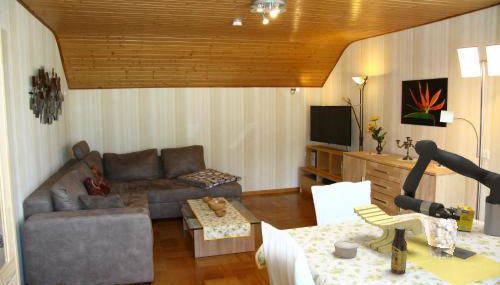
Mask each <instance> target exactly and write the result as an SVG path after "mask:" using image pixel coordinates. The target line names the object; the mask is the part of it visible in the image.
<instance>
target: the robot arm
mask: <svg viewBox="0 0 500 285" xmlns="http://www.w3.org/2000/svg"><path fill="white" fill-rule="evenodd" d="M414 151H415V153H416V155H418V158H417V161H416V163H415V164H414V166H413V167H412V168H411V170H410V171H409V172H408V173H407V176H406V179H405V181H404V183H403V185H402V190H403V191H404V193H403V194H398V195H396V196H395V197H394V200H393V203H394V205H395V206H396V207H397V208H398V209H401V210H405V211H412V212H414V213H418V214H422V215H424V216H428V217H432V218H435V219H442V220H446V221H447V220H454V221H455V220H458V221H459V220H460V216H458V215H456V213H457V208H458V207H457V208H456V207H445V205H444V204H443V203H440V202H435V201H431V200H424V199H420V198H419V199H418V198H416V193H417V189H418V188H419V186H420V185H419V184H420V183H421V181H422V178H423V176H424V175H425V172H426V170H427V169H428V167H429V165H430V163H431V161H433V162H435V163H438V164H440V165H441V166H443V167H445V168H446V169H448V170H450V171H452V172H454V173H456V174H459V175H460V176H463V177H465V178H466V177H467V178H469V179H472V180H474V181H477V183H480V184H482V185H483V186H485V187H486V188H487V189H489V195H486V196H485V200H484V218H483V219H484V220H483V221H484V222H483V223H484V224H483V233H484V234H485V235H488V236H493V237H500V173H497V172H493V171H490V170H489V169H485V168H484V167H483V168H482V167H480V166H479V165H477V163H475V162H473V161H472V160H471V159H469V158H466V157H464V156H462V155H461V154H457V153H453V152H450V151H448V150H443V149H441V148H439V147H438V145H437V143H436V142H435V141H434V140H431V139H420V140H419V141H417V142H416V143H415V144H414Z"/></svg>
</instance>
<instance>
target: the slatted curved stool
mask: <svg viewBox="0 0 500 285" xmlns="http://www.w3.org/2000/svg"><path fill="white" fill-rule="evenodd" d="M353 213H354V214H357V217H360V220H363V221H364V223H367V224H370V225H372V226H375V227H378V228H380V229H382V232H383V234H382V235H381V236H380V237H378V238H376V239H374V240H370V241H366V242H365V244H364V246H365V247H368V248H371V249H372V250H374V251H377V252H379V253H381V254H387V253H391V251H392V243H393V241H394V238H395V232H396V231H395V227H396V226H402V227H405V238H404V239H405V240H406V239H407V234H408V232H412V233H413V234H415V235H417V234H421V233H422V232H423V229H422V228H423V223H422V220H421V219H420V218H413V219H408V220H400V219H398V218H395V217H394V216H390V215H389V214H387V213H386V212H385V211H383V210H382V209H381V208H380V207H379V206H378V205H376V204H367V205H361V206H355V207H353ZM406 241H407V240H406Z"/></svg>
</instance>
